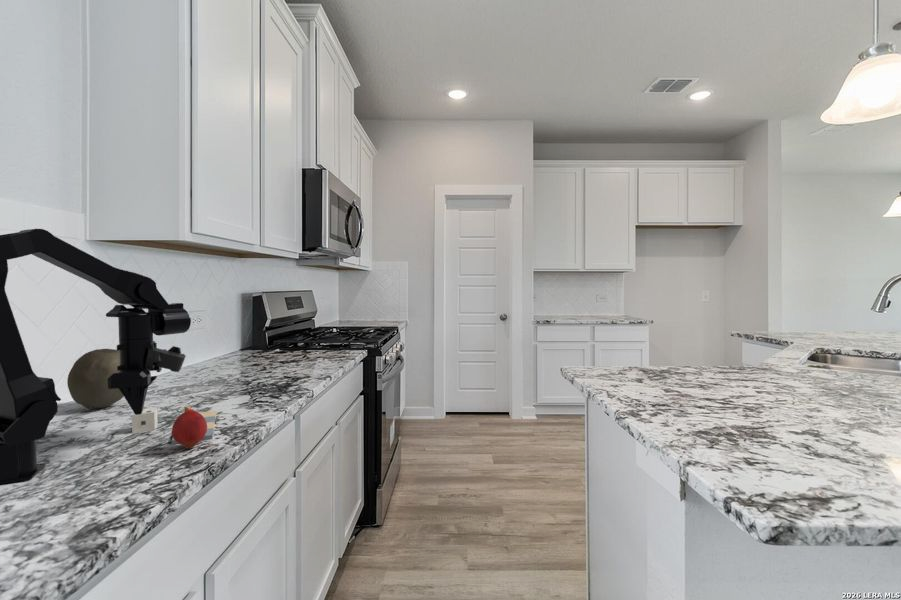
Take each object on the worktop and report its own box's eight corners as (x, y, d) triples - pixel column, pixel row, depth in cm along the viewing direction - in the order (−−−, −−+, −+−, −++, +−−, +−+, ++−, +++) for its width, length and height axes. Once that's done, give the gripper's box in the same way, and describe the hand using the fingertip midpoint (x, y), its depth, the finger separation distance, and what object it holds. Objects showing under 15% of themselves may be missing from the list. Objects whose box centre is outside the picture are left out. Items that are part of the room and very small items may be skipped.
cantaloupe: (82, 417, 108) (80, 354, 107) (60, 409, 115) (57, 350, 115) (147, 404, 119) (146, 347, 119) (123, 397, 127) (121, 344, 127)
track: (212, 438, 92) (212, 434, 92) (171, 444, 89) (171, 440, 89) (216, 413, 110) (216, 410, 110) (182, 417, 107) (182, 414, 107)
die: (154, 430, 97) (154, 412, 97) (132, 433, 96) (131, 414, 96) (157, 425, 101) (157, 407, 101) (136, 428, 99) (135, 409, 99)
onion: (200, 440, 90) (199, 401, 90) (212, 447, 87) (211, 405, 87) (167, 449, 86) (166, 407, 86) (179, 456, 82) (178, 412, 82)
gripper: (176, 340, 87) (178, 420, 88) (186, 332, 104) (188, 399, 105) (105, 344, 83) (108, 429, 83) (127, 334, 99) (130, 405, 100)
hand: (138, 414), depth 93 cm, fingers closed
